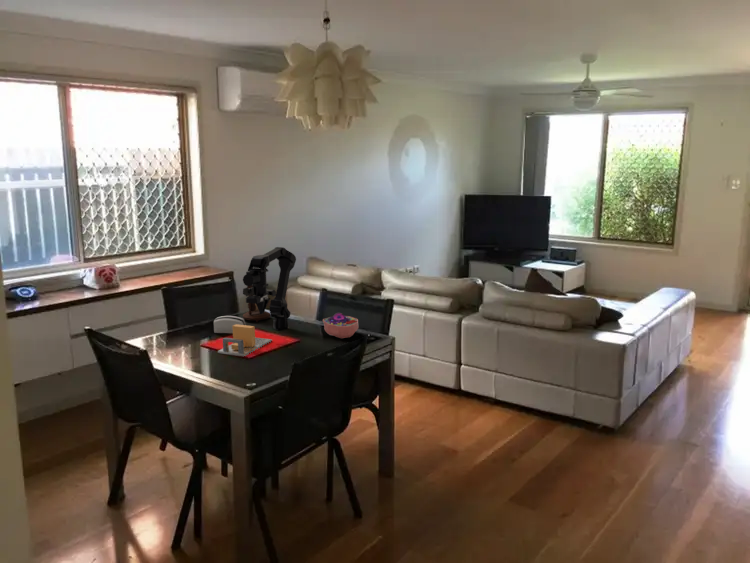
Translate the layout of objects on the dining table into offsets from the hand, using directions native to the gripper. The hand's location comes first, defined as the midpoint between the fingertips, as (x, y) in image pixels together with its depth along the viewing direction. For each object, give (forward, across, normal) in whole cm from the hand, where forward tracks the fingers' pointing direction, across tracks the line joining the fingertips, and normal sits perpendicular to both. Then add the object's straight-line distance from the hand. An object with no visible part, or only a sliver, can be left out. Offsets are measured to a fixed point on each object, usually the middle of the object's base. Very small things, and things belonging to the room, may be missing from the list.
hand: (261, 313), depth 311 cm
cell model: (+12, -14, +36) cm, 40 cm away
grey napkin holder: (+12, -2, -20) cm, 23 cm away
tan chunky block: (+11, +20, +1) cm, 23 cm away
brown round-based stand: (+12, -28, -21) cm, 37 cm away
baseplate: (+12, +16, +1) cm, 20 cm away
